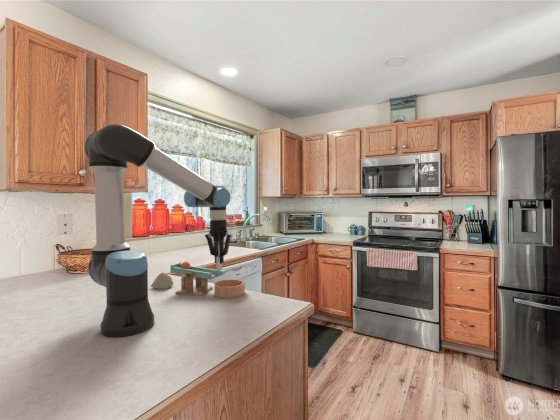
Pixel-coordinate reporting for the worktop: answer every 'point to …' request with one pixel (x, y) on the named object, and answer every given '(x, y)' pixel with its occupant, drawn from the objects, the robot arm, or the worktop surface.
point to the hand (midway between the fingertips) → (219, 270)
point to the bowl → (229, 288)
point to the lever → (196, 271)
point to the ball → (185, 265)
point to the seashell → (162, 281)
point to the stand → (191, 289)
